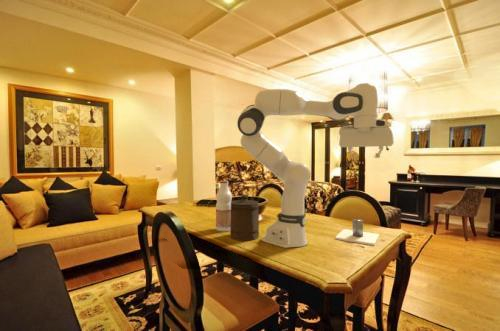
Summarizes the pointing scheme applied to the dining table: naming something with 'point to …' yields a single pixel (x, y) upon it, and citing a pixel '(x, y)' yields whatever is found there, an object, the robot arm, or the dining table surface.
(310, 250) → the dining table surface
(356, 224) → the steel tin
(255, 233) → the wooden container
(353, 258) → the dining table surface
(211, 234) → the dining table surface
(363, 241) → the cream board
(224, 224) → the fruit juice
